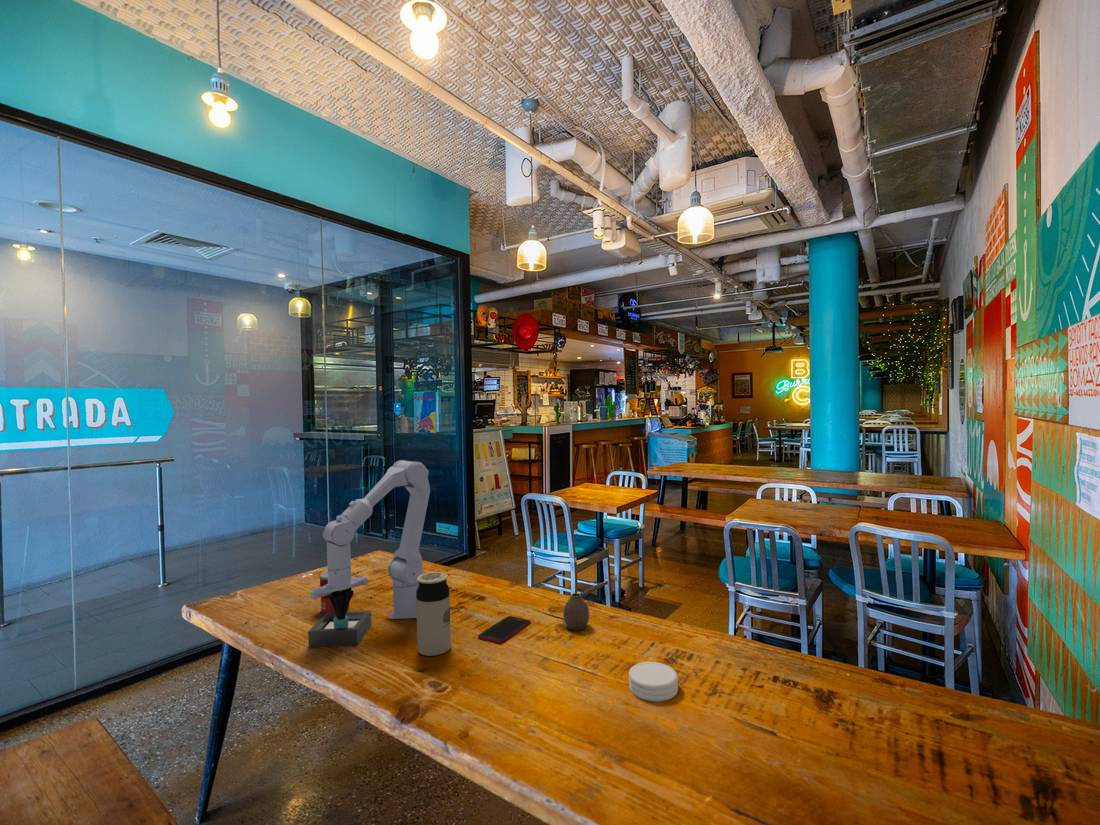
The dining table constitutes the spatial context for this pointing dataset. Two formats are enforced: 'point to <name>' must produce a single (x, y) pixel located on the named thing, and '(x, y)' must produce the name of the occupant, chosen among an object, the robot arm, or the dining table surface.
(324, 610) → the canned food
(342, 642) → the press housing
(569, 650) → the dining table surface
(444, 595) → the travel mug
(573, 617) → the vase
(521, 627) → the cell phone
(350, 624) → the plunger
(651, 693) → the coaster
